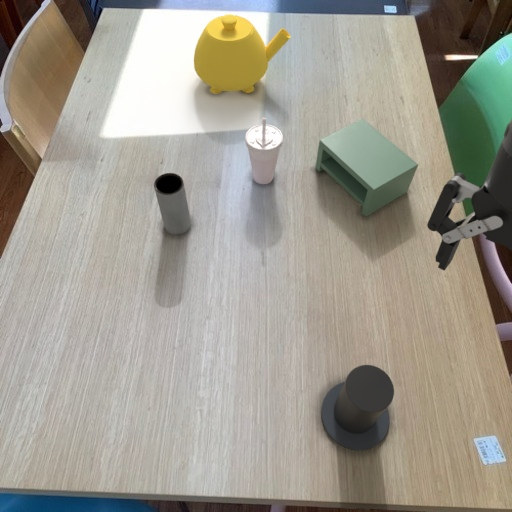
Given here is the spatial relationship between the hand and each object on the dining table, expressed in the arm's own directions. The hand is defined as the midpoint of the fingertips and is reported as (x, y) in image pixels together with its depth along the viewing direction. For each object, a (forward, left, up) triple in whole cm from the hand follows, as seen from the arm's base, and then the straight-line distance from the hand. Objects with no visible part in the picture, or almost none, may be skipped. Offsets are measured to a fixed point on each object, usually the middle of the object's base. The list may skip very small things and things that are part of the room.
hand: (482, 284), depth 50 cm
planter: (+44, +5, -22) cm, 50 cm away
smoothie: (+40, -13, -22) cm, 47 cm away
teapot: (+62, -32, -22) cm, 73 cm away
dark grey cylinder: (+3, +12, -21) cm, 25 cm away
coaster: (+3, +12, -22) cm, 25 cm away
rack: (+26, -24, -22) cm, 41 cm away
